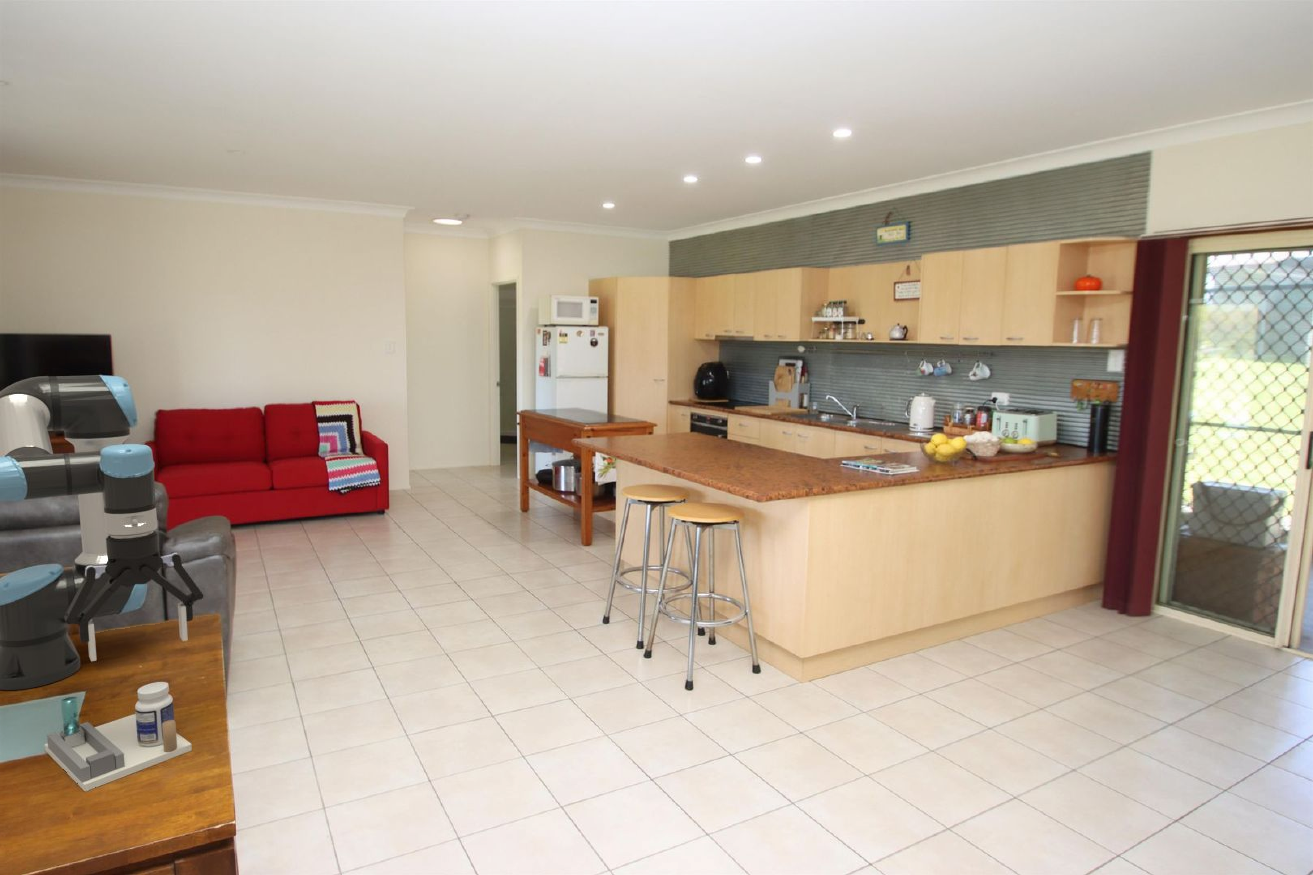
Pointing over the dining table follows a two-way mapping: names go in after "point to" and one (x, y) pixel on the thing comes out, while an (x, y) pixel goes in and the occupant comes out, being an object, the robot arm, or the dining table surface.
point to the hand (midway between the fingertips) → (139, 648)
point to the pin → (71, 723)
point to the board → (113, 751)
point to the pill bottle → (153, 712)
